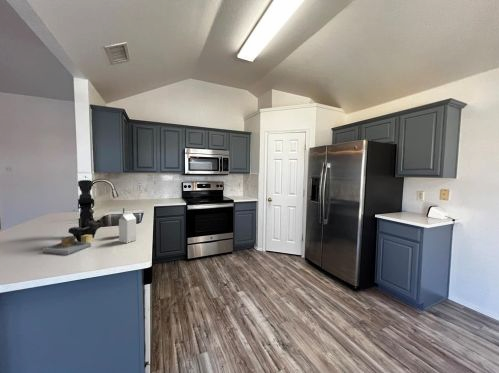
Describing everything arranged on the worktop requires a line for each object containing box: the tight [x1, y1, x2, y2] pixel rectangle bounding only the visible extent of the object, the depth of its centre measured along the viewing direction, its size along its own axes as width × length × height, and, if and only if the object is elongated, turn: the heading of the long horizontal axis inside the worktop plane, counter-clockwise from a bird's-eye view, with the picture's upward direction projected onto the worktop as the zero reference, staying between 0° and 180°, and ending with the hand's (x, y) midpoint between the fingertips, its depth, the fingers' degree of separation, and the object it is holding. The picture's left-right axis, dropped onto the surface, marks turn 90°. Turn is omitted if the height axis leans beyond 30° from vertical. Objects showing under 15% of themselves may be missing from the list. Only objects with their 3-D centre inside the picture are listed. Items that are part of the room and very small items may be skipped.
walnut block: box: [60, 236, 76, 247], centre depth 129 cm, size 4×4×4 cm
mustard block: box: [81, 235, 94, 243], centre depth 138 cm, size 4×4×4 cm
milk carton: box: [118, 211, 137, 244], centre depth 142 cm, size 7×7×19 cm
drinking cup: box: [117, 207, 125, 226], centre depth 153 cm, size 8×8×20 cm
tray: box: [42, 240, 92, 256], centre depth 125 cm, size 14×16×2 cm
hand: (86, 240), depth 138 cm, fingers open, 9 cm apart
